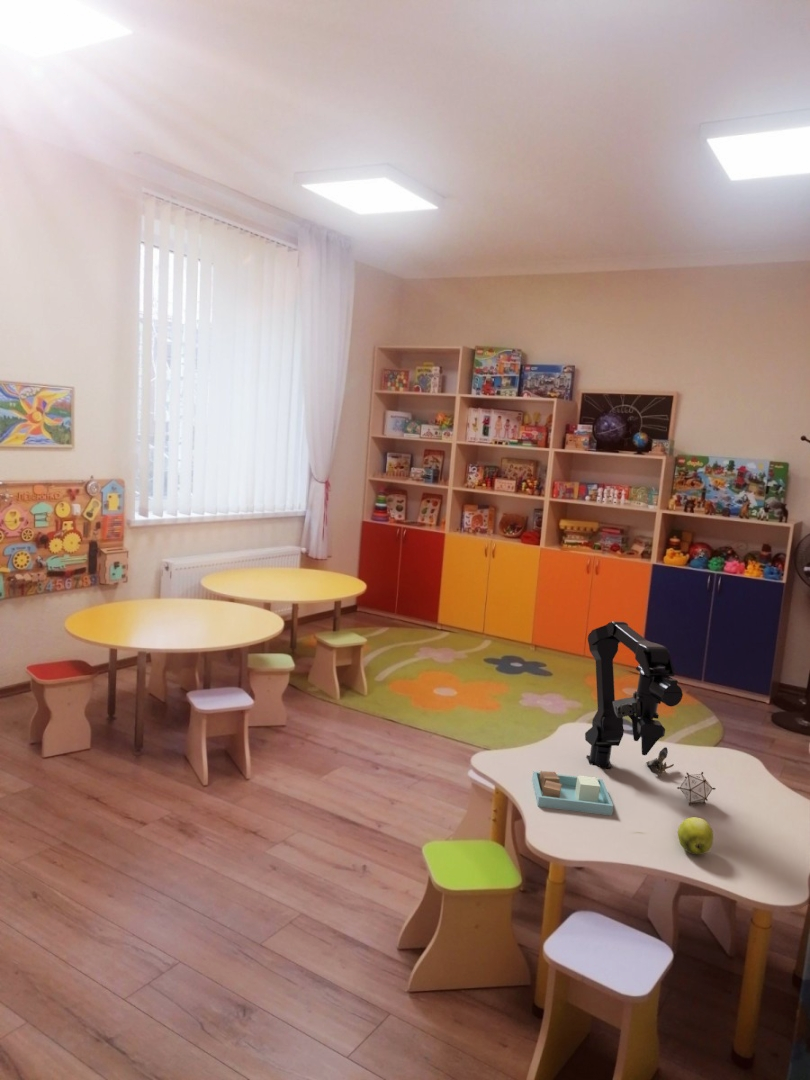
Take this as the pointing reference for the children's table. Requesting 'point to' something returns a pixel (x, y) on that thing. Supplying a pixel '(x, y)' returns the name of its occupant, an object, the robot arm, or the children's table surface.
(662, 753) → the eagle figurine
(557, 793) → the walnut block
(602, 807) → the tray
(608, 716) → the robot arm
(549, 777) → the walnut block
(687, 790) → the game die
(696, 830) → the apple
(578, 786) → the sage block
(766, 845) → the children's table surface
